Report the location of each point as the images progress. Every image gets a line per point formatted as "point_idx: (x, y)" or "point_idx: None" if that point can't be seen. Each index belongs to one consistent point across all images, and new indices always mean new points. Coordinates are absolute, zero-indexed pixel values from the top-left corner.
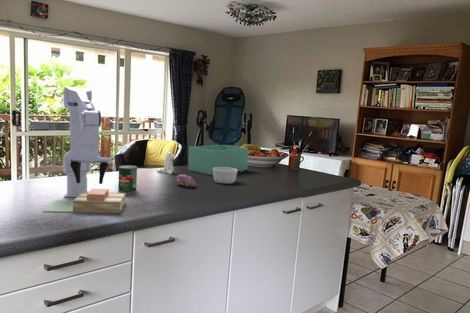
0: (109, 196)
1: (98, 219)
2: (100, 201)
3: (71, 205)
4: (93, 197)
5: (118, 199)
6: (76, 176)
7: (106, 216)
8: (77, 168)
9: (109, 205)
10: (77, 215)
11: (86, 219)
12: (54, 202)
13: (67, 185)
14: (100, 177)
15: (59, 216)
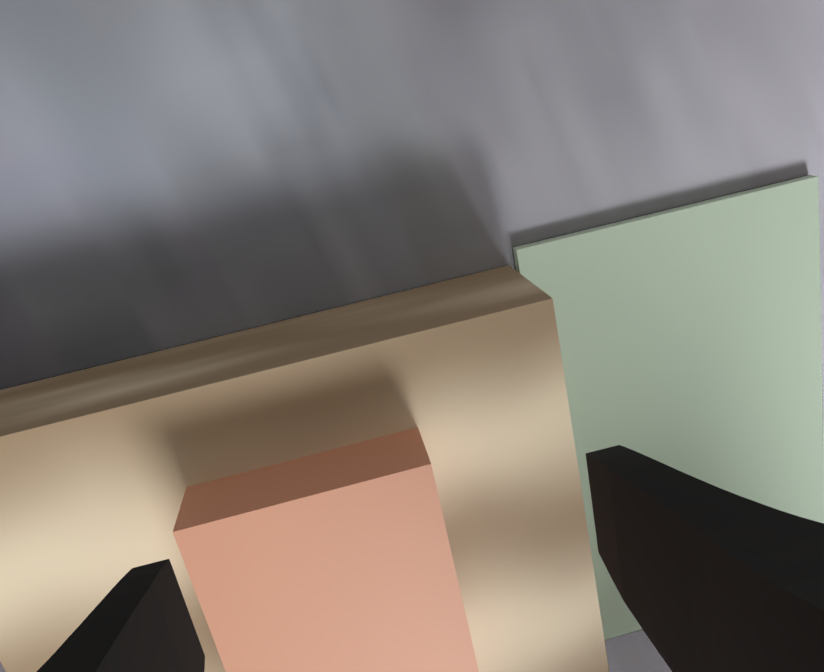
0: (208, 660)
1: (69, 53)
2: (186, 396)
3: None
4: (329, 465)
5: (5, 575)
6: (695, 495)
7: (46, 209)
8: (816, 639)
9: (71, 401)
10: (400, 152)
11: (214, 13)
12: (816, 498)
13: None
14: (85, 653)
15: (576, 54)
